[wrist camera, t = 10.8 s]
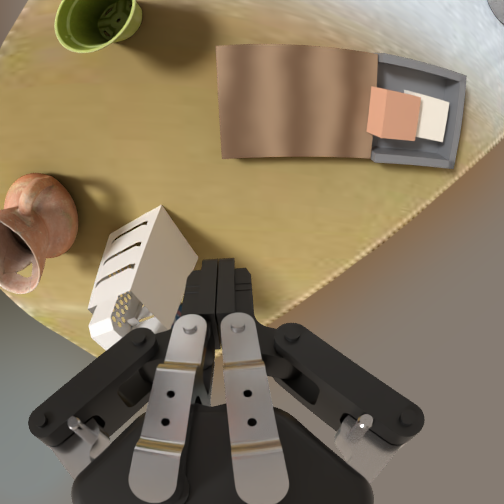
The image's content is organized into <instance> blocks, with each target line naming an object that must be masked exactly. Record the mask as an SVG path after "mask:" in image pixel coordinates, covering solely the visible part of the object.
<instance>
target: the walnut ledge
mask: <svg viewBox="0 0 504 504" xmlns="http://www.w3.org/2000/svg"><path fill="white" fill-rule="evenodd" d="M216 60H217V81H218V100H219V118H220V134H221V150H222V159H231V158H253V157H352V158H370V157H371V148H372V139H373V134H371V133H368V132H366V131H367V123H368V114H369V105H370V95H371V86H373V87H377V67H378V54H374V53H368V52H361V51H355V50H347V49H339V48H330V47H320V46H306V45H286V44H243V45H223V46H216Z"/></svg>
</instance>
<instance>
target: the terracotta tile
mask: <svg viewBox="0 0 504 504" xmlns="http://www.w3.org/2000/svg"><path fill="white" fill-rule="evenodd" d="M420 103H421V97H418V96H414V95H410V94H407V93H402V92H398V91H393V90H388V89H383V88H378V87H373V86H371V95H370V105H369V114H368V123H367V131H366V132H368V133H371V134H373V135H375V136H378V137H380V138H387V139H398V140H409V141H415V137H416V131H417V124H418V118H419V110H420Z"/></svg>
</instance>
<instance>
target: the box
mask: <svg viewBox="0 0 504 504" xmlns="http://www.w3.org/2000/svg"><path fill="white" fill-rule="evenodd" d="M374 54H378V67H377V87H378V88H383V89H388V90H393V91H398V92H402V93H404V90H408V91H412V92H416V93H419V94H423V95H427V96H430V97H434V98H437V99H440V100H443V101H446V102H449V109H448V115H447V121H446V127H445V133H444V138H443V142H439V141H434V140H430V139H425V138H420V137H415V141H409V140H398V139H387V138H380V137H378V136H375V135H373V139H372V148H371V157H370V159H371V160H372V161H374V162H377V163H394V164H408V165H419V166H430V167H440V168H449V169H454V164H455V159H456V154H457V149H458V143H459V137H460V131H461V124H462V117H463V109H464V100H465V89H466V75H463V74H460V73H457V72H454V71H451V70H448V69H445V68H441V67H438V66H435V65H431V64H427V63H424V62H420V61H416V60H412V59H408V58H404V57H399V56H395V55H390V54H385V53H374Z"/></svg>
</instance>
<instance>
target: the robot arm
mask: <svg viewBox="0 0 504 504" xmlns="http://www.w3.org/2000/svg"><path fill="white" fill-rule="evenodd" d="M488 3H489V5H490V7H491V9H492V11H493V13H494V14H495V16H496V17H497V18H498V19H499V20H500V21H501V22H502V23H503V24H504V0H488ZM221 346H222V351H223V362H224V365H223V372H224V383H225V393H226V404H223V405H218V406H214V407H211V391H212V382H213V374H214V366H215V362H214V358H215V349H221ZM267 376H272V377H273V378H274V380H275V381H276V382H277V383H278V384H279V385H280V386H282V387H283V388H284V389H285V390H286V391H288V392H289V393H290V394H291V395H292V396H293V397H294V398H296V399H297V400H298V401H299V402H301V403H302V404H303V405H304V406H305V407H307V408H308V409H309V410H310V411H311V412H313V413H314V414H315V415H317V416H318V417H319V418H320V419H321V420H323V421H324V422H325V423H327V424H328V425H329V426H330V427H332V428H333V429H334V430H335V431H337V432H336V434H335V439H334V441H335V445H336V447H337V448H338V449H339V451H340V452H341V453H342V454H343V456H344V458H345V461H344V460H343V459H342V458H340V457H339V456H338V455H337V454H335V453H334V452H333V451H332V450H331V449H330V448H328V447H327V446H326V445H325V444H324V443H323V442H321V441H320V440H319V439H318V438H317V437H315V436H314V435H313V434H312V433H311V432H310V431H309V430H308V429H307V428H305V427H304V426H303V425H302V424H301V423H300V422H299V421H297V419H295V418H294V417H293V416H292V415H290V414H289V413H287V412H285V411H283V410H281V409H278V408H276V407H273V405H272V400H271V395H270V390H269V385H268V380H267ZM148 401H149V402H148ZM147 402H148V406H147V410H146V412H145V413H143V414H142V415H141V416H139V417H138V418H137V419H136V420H135V421H134V422H133V423H132V424H131V425H130V426H129V427H128V428H126V429H125V430H124V431H123V432H122V433H121V434H120V435H119V436H118V437H117V438H116V439H115V440H114V441H113V442H112V443H111V444H110V436H111V435H112V434H113V433H114V432H115V431H117V430H118V429H119V428H120V427H121V426H122V425H123V424H124V423H125V422H127V421H128V420H129V419H130V418H131V417H132V416H133V415H134V414H135V413H136V412H137V411H139V410H140V409H141V408H142V407H143V406H144V405H145V404H146V403H147ZM28 425H29V429H30V431H31V433H32V434H33V435H34V436H36V437H37V438H39V439H40V440H41V441H42V442H43V443H44V444H46V445H47V446H48V447H50V448H51V449H52V450H53V452H54V453H55V455H56V456H57V457H58V459H59V460H60V462H61V463H62V464H63V466H64V467H65V468H66V470H67V471H68V472H69V474H70V475H71V476H72V477H73V479H74V483H73V486H72V491H71V494H72V502H73V504H373V503H374V495H373V491H372V488H371V486H370V483H371V482H372V481H373V480H374V479H375V478H376V477H377V475H378V474H379V473H380V472H381V471H382V469H383V468H384V467H385V465H386V464H387V463H388V462H389V461H390V459H391V458H392V457H393V456H394V454H395V453H396V452H397V451H398V450H399V449H400V448H401V447H402V446H404V445H405V444H406V443H407V442H408V441H409V440H411V439H412V438H413V437H414V436H415V435H416V434H417V433H419V432H420V430H421V429H422V427H423V425H424V414H423V412H422V410H421V409H420V408H419V407H418V406H417V405H416V404H414V403H413V402H411V401H410V400H408V399H407V398H405V397H404V396H402V395H401V394H399V393H398V392H396V391H395V390H393V389H392V388H390V387H389V386H388V385H386V384H385V383H383V382H382V381H380V380H379V379H377V378H376V377H374V376H373V375H372V374H370V373H369V372H367V371H366V370H364V369H363V368H361V367H360V366H359V365H357V364H356V363H354V362H353V361H351V360H350V359H349V358H347V357H346V356H344V355H343V354H342V353H340V352H339V351H337V350H336V349H334V348H333V347H332V346H330V345H329V344H327V343H326V342H325V341H323V340H322V339H320V338H319V337H318V336H316V335H315V334H313V333H312V332H311V331H309V330H308V329H306V328H305V327H303V326H302V325H300V324H297V323H286V324H283V325H281V326H280V327H278V328H277V329H274V328H269V327H266V326H263V325H262V324H260V323H259V322H258V321H257V320H256V318H255V316H254V308H253V296H252V284H251V274H250V273H249V272H248V270H247V269H246V268H236V269H235V260H234V258H223V259H219V261H218V259H205V260H203V261H202V269H201V270H196V271H192V272H191V273H190V275H189V276H188V277H187V280H186V287H185V294H184V298H183V304H182V311H181V317H180V318H179V319H178V320H177V321H176V322H175V324H174V326H173V328H171V329H169V330H167V331H164V332H160V333H156V334H154V332H153V331H152V330H150V329H148V328H144V327H141V328H136V329H133V330H131V331H130V332H129V333H127V334H126V335H125V336H124V337H122V338H121V339H120V340H119V341H118V342H116V343H115V344H114V345H113V346H111V347H110V348H109V349H108V350H106V351H105V352H104V353H103V354H101V355H100V356H99V357H98V358H97V359H95V360H94V361H93V362H92V363H90V364H89V365H88V366H87V367H86V368H84V369H83V370H82V371H81V372H79V373H78V374H77V375H76V376H75V377H73V378H72V379H71V380H70V381H69V382H68V383H66V384H65V385H64V386H62V387H61V388H60V389H59V390H58V391H56V392H55V393H54V394H53V395H52V396H50V397H49V398H48V399H47V400H46V401H45V402H43V403H42V404H41V405H40V406H38V407H37V408H36V409H35V410H34V411H33V412H32V413H31V415H30V417H29V421H28Z"/></svg>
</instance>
